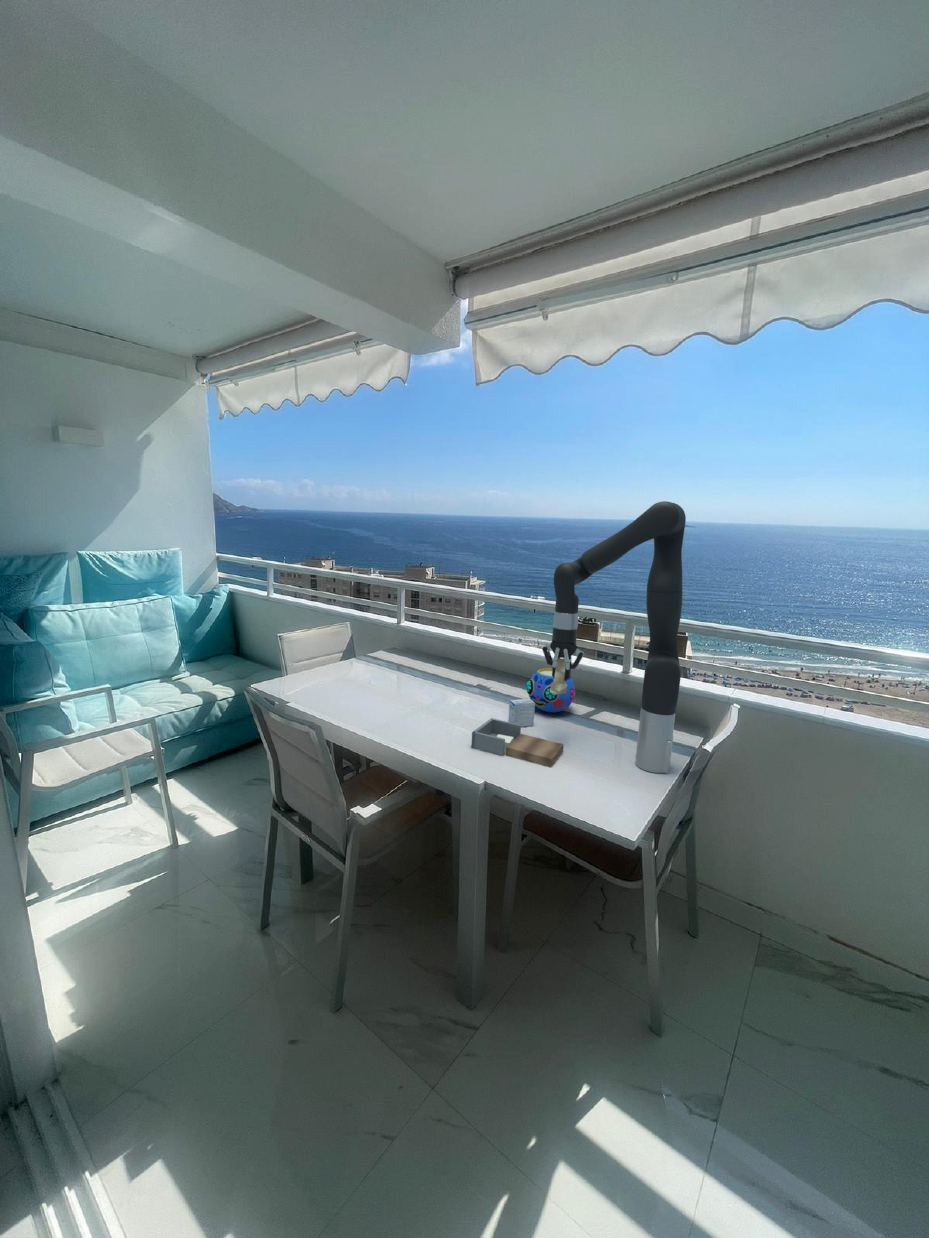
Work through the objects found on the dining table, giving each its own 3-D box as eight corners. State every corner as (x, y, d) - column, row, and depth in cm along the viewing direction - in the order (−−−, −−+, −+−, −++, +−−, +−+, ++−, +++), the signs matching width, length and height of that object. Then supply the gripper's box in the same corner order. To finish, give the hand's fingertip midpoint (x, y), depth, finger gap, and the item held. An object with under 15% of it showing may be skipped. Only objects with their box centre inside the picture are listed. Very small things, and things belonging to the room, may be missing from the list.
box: (520, 739, 155) (521, 724, 154) (502, 755, 143) (503, 740, 142) (490, 732, 160) (491, 718, 159) (471, 747, 148) (472, 732, 147)
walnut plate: (563, 751, 148) (563, 743, 147) (551, 767, 137) (551, 758, 137) (520, 741, 154) (520, 733, 154) (505, 755, 143) (506, 747, 143)
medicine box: (527, 721, 171) (529, 698, 170) (533, 726, 167) (535, 702, 166) (507, 723, 168) (509, 699, 167) (513, 728, 164) (515, 704, 163)
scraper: (566, 693, 156) (570, 659, 157) (559, 694, 149) (564, 658, 150) (557, 691, 158) (561, 658, 158) (550, 692, 151) (555, 657, 151)
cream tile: (513, 743, 151) (513, 737, 151) (509, 749, 147) (509, 743, 147) (498, 740, 153) (498, 734, 153) (493, 746, 149) (493, 740, 148)
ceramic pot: (517, 709, 183) (519, 670, 180) (544, 699, 196) (547, 663, 193) (555, 722, 171) (559, 681, 168) (582, 711, 183) (585, 673, 181)
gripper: (539, 625, 151) (536, 678, 154) (584, 631, 145) (579, 686, 148) (547, 622, 158) (543, 673, 161) (590, 627, 152) (585, 680, 154)
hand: (560, 679), depth 154 cm, fingers closed on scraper, 3 cm apart
